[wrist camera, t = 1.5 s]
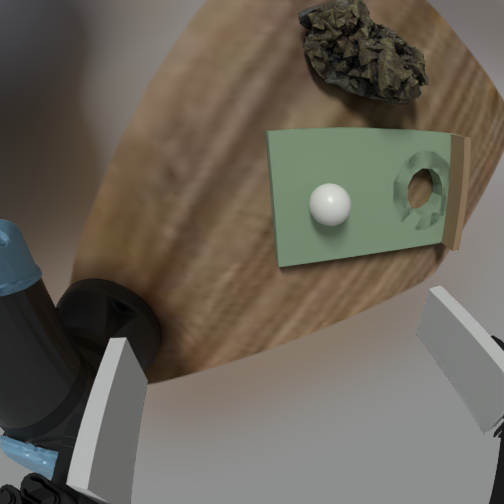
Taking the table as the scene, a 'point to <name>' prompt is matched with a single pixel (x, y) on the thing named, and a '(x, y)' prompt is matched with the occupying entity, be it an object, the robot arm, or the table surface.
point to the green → (365, 190)
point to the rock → (361, 53)
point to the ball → (330, 204)
